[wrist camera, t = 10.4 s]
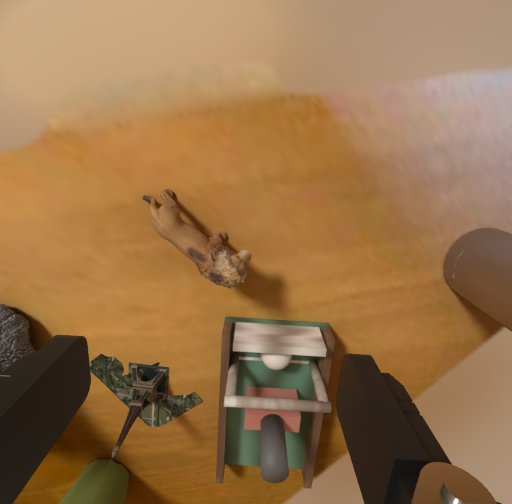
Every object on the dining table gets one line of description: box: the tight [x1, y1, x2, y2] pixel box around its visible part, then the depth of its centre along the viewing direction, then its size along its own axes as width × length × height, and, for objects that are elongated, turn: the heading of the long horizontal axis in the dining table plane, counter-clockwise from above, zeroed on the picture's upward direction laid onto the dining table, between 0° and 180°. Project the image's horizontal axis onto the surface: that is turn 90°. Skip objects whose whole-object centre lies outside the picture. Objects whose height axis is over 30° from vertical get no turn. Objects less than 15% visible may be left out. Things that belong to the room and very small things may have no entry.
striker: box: [244, 386, 301, 483], centre depth 40 cm, size 7×3×12 cm, turn 86°
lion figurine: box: [142, 189, 252, 288], centre depth 35 cm, size 15×5×9 cm, turn 58°
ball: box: [261, 353, 292, 370], centre depth 41 cm, size 4×4×4 cm
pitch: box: [216, 317, 335, 488], centre depth 42 cm, size 14×25×10 cm, turn 176°
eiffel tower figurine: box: [89, 354, 202, 464], centre depth 41 cm, size 15×10×13 cm
